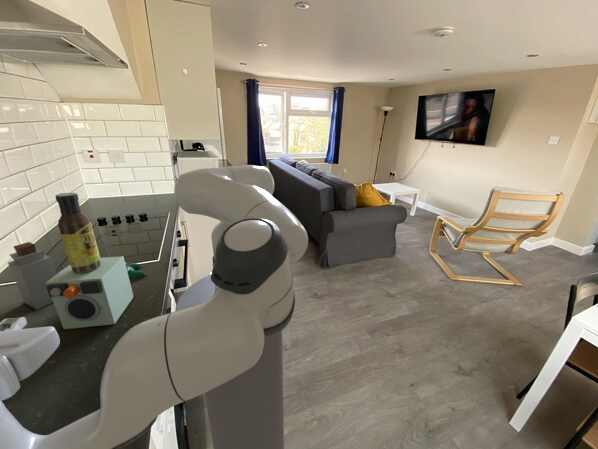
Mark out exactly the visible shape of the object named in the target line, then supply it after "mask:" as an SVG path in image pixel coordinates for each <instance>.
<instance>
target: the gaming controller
mask: <svg viewBox="0 0 598 449" xmlns="http://www.w3.org/2000/svg"><path fill="white" fill-rule="evenodd" d="M125 264H126V268H127V272H128V276H129V278H142V277H145V276H146V272H145V271H142V270H139V269H140V268H141V264H139V263H135V262H134V263H132V262H131V263H128V262H126V261H125Z"/></svg>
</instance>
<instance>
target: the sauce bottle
mask: <svg viewBox="0 0 598 449" xmlns="http://www.w3.org/2000/svg"><path fill="white" fill-rule="evenodd" d="M55 201H56V202H57V203H58V207H59V210H60V211H59V212H60V214H61V215H60V217H59V219H58V220H57V227H58V229H59V234H60V238H61V240H62V244H63V247H64V250H65V254H66V257H67V260H68V263H69V264H68V265H70V266H71V267H72V271H73V272H74V273H84V272H89V271H92V270H94V269H96V268H98V267H99V266H100V265H101V262H100V258H101V256H100V251H99V247H98V245H97V244H98V243H97V240H96V236H95V233H94V230H93V225H92V222H91V221H90V219H89V217H88V216H87V215H86V214H84V212H82V208H81V206H80V202H79V195H78V193H77V192H63V193H62V192H61V193H57V194H56V195H55Z"/></svg>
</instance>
